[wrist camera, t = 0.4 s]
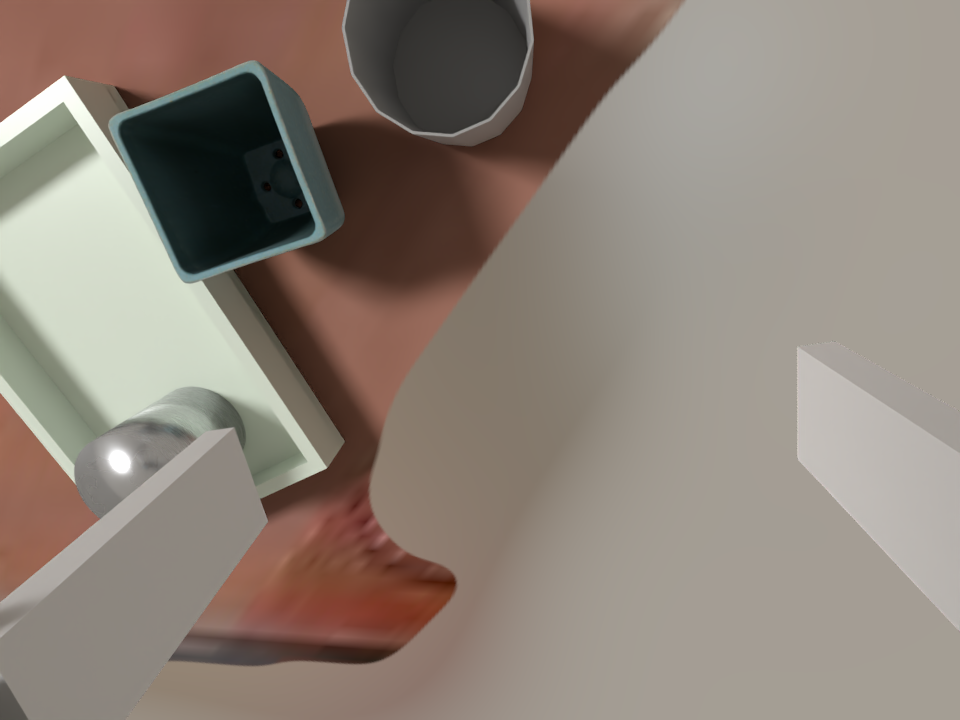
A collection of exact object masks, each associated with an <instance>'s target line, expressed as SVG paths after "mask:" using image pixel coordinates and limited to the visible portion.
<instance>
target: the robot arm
mask: <svg viewBox="0 0 960 720" xmlns="http://www.w3.org/2000/svg"><path fill="white" fill-rule="evenodd" d="M797 459H798V460H799V461H800V462H801V463H802V464H803V465H804V466H805V468H806V469H807V470H808V471H809V472H810V473H811V474H812V475H813V476H814V477H815V478H816V479H817V480H818V481H819V482H820V483H821V485H823V487H824V488H825V489H826V490H827V491H828V492H829V493H830V494H831V495H832V496H833V497H834V498H835V499H836V500H837V502H838V503H839V504H840V505H841V506H842V507H843V508H844V509H845V510H846V511H847V512H848V513H849V514H850V515H851V517H852V518H853V519H854V520H855V521H856V522H857V523H858V524H859V525H860V526H861V527H862V528H863V529H864V530H865V531H866V532H867V534H868V535H869V536H870V537H871V538H872V539H873V540H874V541H875V542H876V543H877V544H878V545H879V546H880V547H881V549H883V551H884V552H885V553H886V554H887V555H888V556H889V557H890V558H891V559H892V560H893V561H894V562H895V563H896V564H897V565H898V567H899V568H900V569H901V570H902V571H903V572H904V573H905V574H906V575H907V576H908V577H909V578H910V579H911V580H912V582H913V583H914V584H915V585H916V586H917V587H918V588H919V589H920V590H921V591H922V592H923V593H924V594H925V595H926V596H927V598H928V599H929V600H930V601H931V602H932V603H933V604H934V605H935V606H936V607H937V608H938V609H939V610H940V611H941V612H942V614H943V615H944V616H946V618H947V619H948V620H949V621H950V622H951V623H952V624H953V625H954V626H955V627H956V628H957V629H958V631H960V411H959V410H957V409H955V408H954V407H952V406H950V405H948V404H946V403H945V402H943V401H941V400H939V399H937V398H936V397H934V396H932V395H930V394H929V393H926V392H925V391H923V390H921V389H920V388H917V387H916V386H914V385H912V384H911V383H909V382H907V381H905V380H904V379H902V378H900V377H898V376H896V375H894V374H893V373H891V372H889V371H887V370H886V369H884V368H882V367H880V366H878V365H877V364H875V363H873V362H871V361H869V360H868V359H866V358H864V357H862V356H861V355H859V354H857V353H855V352H853V351H852V350H850V349H848V348H846V347H844V346H842V345H841V344H839V343H837V342H836V341H833V342H826V343H819V344H812V345H805V346H799V347H797ZM267 522H268V520H267V517H266V514H265V511H264V509H263V506H262V503H261V500H260V497H259V495H258V492H257V489H256V486H255V484H254V481H253V478H252V475H251V472H250V470H249V467H248V464H247V461H246V458H245V456H244V453H243V450H242V447H241V445H240V442H239V439H238V436H237V433H236V431H235V428H234V427H233V428H226V429H219V430H212V431H206V432H204V433H203V434H202V435H201V436H200V437H198V438H197V439H196V440H195V441H194V442H192V443H191V444H190V445H189V446H188V447H186V448H185V449H184V450H183V451H182V452H180V453H179V454H178V455H177V456H176V457H174V458H173V459H172V460H171V461H170V462H168V463H167V464H166V465H165V466H164V467H162V468H161V469H160V470H159V471H158V472H156V473H155V474H154V475H153V476H152V477H150V478H149V479H148V480H147V481H146V482H144V483H143V484H142V485H141V486H140V487H138V488H137V489H136V490H135V491H134V492H132V493H131V494H130V495H129V496H127V497H126V498H125V499H124V500H123V501H121V502H120V503H119V504H118V505H117V506H115V507H114V508H113V509H112V510H111V511H109V512H108V513H107V514H106V515H105V516H103V517H102V518H101V519H100V520H99V521H97V522H96V523H95V524H94V525H93V526H91V527H90V528H89V529H88V530H87V531H85V532H84V533H83V534H82V535H81V536H79V537H78V538H77V539H76V540H75V541H73V542H72V543H71V544H70V545H69V546H67V547H66V548H65V549H64V550H63V551H61V552H60V553H59V554H58V555H57V556H55V557H54V558H53V559H52V560H51V561H49V562H48V563H47V564H46V565H45V566H43V567H42V568H41V569H40V570H39V571H37V572H36V573H35V574H34V575H33V576H31V577H30V578H29V579H28V580H27V581H25V582H24V583H23V584H22V585H21V586H19V587H18V588H17V589H16V590H15V591H13V592H12V593H11V594H10V595H9V596H7V597H6V598H5V599H4V600H3V601H1V602H0V720H126V718H127V717H128V715H129V714H130V713H131V711H132V710H133V708H134V707H135V706H136V704H137V703H138V702H139V700H140V699H141V697H142V696H143V695H144V693H145V692H146V690H147V689H148V688H149V686H150V685H151V684H152V682H153V681H154V679H155V678H156V677H157V675H158V674H159V672H160V671H161V669H162V668H163V667H164V665H165V664H166V663H167V661H168V660H169V659H170V657H171V656H172V654H173V653H174V652H175V650H176V649H177V647H178V646H179V645H180V643H181V642H182V640H183V639H184V638H185V636H186V635H187V634H188V632H189V631H190V629H191V628H192V627H193V625H194V624H195V622H196V621H197V620H198V618H199V617H200V615H201V614H202V613H203V611H204V610H205V609H206V607H207V606H208V604H209V603H210V602H211V600H212V599H213V597H214V596H215V595H216V593H217V592H218V590H219V589H220V588H221V586H222V585H223V584H224V582H225V581H226V579H227V578H228V577H229V575H230V574H231V572H232V571H233V570H234V568H235V567H236V565H237V564H238V563H239V561H240V560H241V558H242V557H243V556H244V554H245V553H246V552H247V550H248V549H249V547H250V546H251V545H252V543H253V542H254V540H255V539H256V538H257V536H258V535H259V533H260V532H261V531H262V529H263V528H264V527H265V525H266V524H267Z"/></svg>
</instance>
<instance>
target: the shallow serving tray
mask: <svg viewBox="0 0 960 720" xmlns="http://www.w3.org/2000/svg"><path fill="white" fill-rule="evenodd" d="M126 110H129V108H128V107H127V105H126V104H125V102H124V101H123V99H122V98H121V96H120V94H119V93H118V91H117V90H116V88H115V87H114V86H112V85H107V84H102V83H98V82H93V81H88V80H83V79H79V78H74V77H69V76H63V77H62V78H60V79H59V80H58V81H56V82H55V83H54V84H52V85H51V86H50V87H48V88H47V89H46V90H44V91H43V92H42V93H40V94H39V95H37V96H36V97H35V98H33V99H32V100H31V101H29V102H28V103H27V104H25V105H24V106H23V107H21V108H20V109H19V110H17V111H16V112H14V113H13V114H12V115H10V116H9V117H8V118H6V119H5V120H4V121H2V122H1V123H0V393H1V394H2V395H3V396H4V398H5V399H6V400H7V401H8V403H9V404H10V405H11V406H12V407H13V409H14V410H15V411H16V412H17V414H18V415H19V416H20V417H21V418H22V420H23V421H24V422H25V423H26V424H27V426H28V427H29V428H30V429H31V431H32V432H33V433H34V434H35V435H36V437H37V438H38V439H39V440H40V442H41V443H42V444H43V445H44V446H45V448H46V449H47V450H48V451H49V452H50V454H51V455H52V456H53V457H54V459H55V460H56V461H57V462H58V463H59V465H60V466H61V467H62V468H63V470H64V471H65V472H66V473H67V474H68V476H69V477H70V478H71V479H72V480H73V482H74V483H75V477H74V467H75V462H76V459H77V457H78V455H79V453H80V451H81V450H82V449H83V448H84V447H85V446H86V445H87V444H88V443H90V442H91V441H93V440H95V439H96V438H98V437H99V436H101V435H103V434H104V433H106V432H107V431H109V430H111V429H112V428H114V427H115V426H117V425H119V424H120V423H122V422H124V421H125V420H127V419H128V418H130V417H132V416H133V415H135V414H136V413H138V412H140V411H141V410H143V409H144V408H146V407H148V406H149V405H151V404H153V403H154V402H156V401H157V400H159V399H161V398H162V397H164V396H165V395H167V394H169V393H170V392H172V391H174V390H176V389H179V388H182V387H201V388H205V389H208V390H211V391H213V392H215V393H217V394H219V395H221V396H222V397H224V398H225V399H226V400H227V401H229V402H230V403H231V404H232V405H233V407H234V408H235V409H236V410H237V412H238V413H239V415H240V417H241V419H242V421H243V424H244V427H245V432H246V441H245V446H244V449H243V453H244V456H245V458H246V461H247V464H248V467H249V470H250V472H251V475H252V478H253V481H254V484H255V486H256V489H257V492H258V495H259V497H260V499H261V498H263V497H266V496H268V495H270V494H272V493H274V492H276V491H279V490H281V489H283V488H285V487H287V486H289V485H292V484H294V483H296V482H298V481H300V480H303V479H305V478H307V477H309V476H311V475H313V474H316V473H318V472H320V471H322V470H324V469H327V468H328V466H329V465H330V463H331V462H332V460H333V459H334V457H335V456H336V454H337V453H338V451H339V450H340V448H341V447H342V445H343V444H344V442H345V441H344V439H343V438H342V436H341V435H340V433H339V432H338V430H337V428H336V427H335V425H334V424H333V422H332V421H331V419H330V418H329V416H328V415H327V413H326V412H325V410H324V408H323V407H322V405H321V404H320V402H319V401H318V399H317V398H316V396H315V395H314V393H313V392H312V390H311V388H310V387H309V385H308V384H307V382H306V381H305V379H304V378H303V376H302V375H301V373H300V372H299V370H298V368H297V367H296V365H295V364H294V362H293V361H292V359H291V358H290V356H289V355H288V353H287V352H286V350H285V348H284V347H283V345H282V344H281V342H280V341H279V339H278V338H277V336H276V335H275V333H274V332H273V330H272V328H271V327H270V325H269V324H268V322H267V321H266V319H265V318H264V316H263V315H262V313H261V312H260V310H259V308H258V307H257V305H256V304H255V302H254V301H253V299H252V298H251V296H250V295H249V293H248V291H247V290H246V288H245V287H244V285H243V284H242V282H241V281H240V279H239V278H238V276H237V275H236V273H235V271H234V270H230V271H227V272H224V273H221V274H219V275H216V276H213V277H210V278H207V279H204V280H202V281H199V282H196V283H191V284H189V283H184V282H183V281H182V280H181V279H180V278H179V276H178V275H177V273H176V271H175V269H174V267H173V265H172V263H171V261H170V259H169V257H168V254H167V252H166V250H165V247H164V245H163V243H162V241H161V239H160V237H159V235H158V233H157V230H156V228H155V226H154V224H153V221H152V220H151V218H150V216H149V214H148V211H147V209H146V207H145V204H144V203H143V200H142V198H141V196H140V194H139V192H138V190H137V188H136V186H135V183H134V181H133V179H132V177H131V175H130V173H129V170H128V168H127V167H126V165H125V162H124V160H123V158H122V156H121V154H120V153H119V150H118V148H117V146H116V144H115V142H114V140H113V137H112V135H111V133H110V130H109V128H108V124H109V120H110V119H111V118H112V117H113V116H115V115H116V114H118V113H121V112H123V111H126ZM75 484H76V483H75Z"/></svg>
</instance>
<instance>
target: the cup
mask: <svg viewBox="0 0 960 720" xmlns="http://www.w3.org/2000/svg"><path fill="white" fill-rule="evenodd" d="M342 31H343V36H344V41H345V46H346V51H347V56H348V61H349V66H350V71H351V75H352V76H353V78H354V79H355V81H356V82H357V84H358V85H359V87H360V88H361V90H362V91H363V93H364V94H365V96H366V97H367V99H368V100H369V102H370V103H371V105H372V106H373V108H374V109H375V111H376V112H377V113H379V114H381V115H382V116H384V117H385V118H387V119H389V120H390V121H392V122H394V123H395V124H397V125H399V126H400V127H402V128H403V129H405V130H407V131H408V132H410V133H412V134H414V135H417V136H420V137H423V138H426V139H429V140H432V141H435V142H438V143H441V144H447V145H460V146H472V147H473V146H475V145H477V144H480V143H482V142H484V141H487V140H489V139H492V138H494V137H496V136H499V135H501V134H502V132H503V131H504V130H505V129H506V128H507V127H508V126H509V124H510V123H511V122H512V121H513V120H514V119H515V117H516V116H517V115H518V114H519V113H520V112H521V111H522V108H523V104H524V101H525V98H526V95H527V91H528V88H529V85H530V81H531V78H532V63H533V47H534V37H533V27H532V17H531V8H530V0H347V3H346V8H345V13H344V18H343V24H342Z"/></svg>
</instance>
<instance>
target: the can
mask: <svg viewBox="0 0 960 720" xmlns="http://www.w3.org/2000/svg"><path fill="white" fill-rule="evenodd" d="M233 427H234V428H235V431H236V433H237V436H238V439H239V442H240V445H241V447H242V450H243V449H244V446H245V441H246V432H245V427H244V424H243V421H242V419H241V417H240V415H239V413H238V412H237V410H236V409H235V408H234V407H233V405H232V404H231V403H230V402H229V401H227V400H226V399H225V398H224V397H222V396H221V395H219V394H217V393H215V392H213V391H211V390H208V389H205V388H201V387H182V388H179V389H176V390H174V391H172V392H170V393H169V394H167V395H165V396H164V397H162V398H161V399H159V400H157V401H156V402H154V403H153V404H151V405H149V406H148V407H146V408H144V409H143V410H141V411H140V412H138V413H136V414H135V415H133V416H132V417H130V418H128V419H127V420H125V421H124V422H122V423H120V424H119V425H117V426H115V427H114V428H112V429H111V430H109V431H107V432H106V433H104V434H103V435H101V436H99V437H98V438H96V439H95V440H93V441H91V442H90V443H88V444H87V445H86V446H85V447H84V448H83V449H82V450H81V451H80V453H79V455H78V457H77V459H76V462H75V467H74V477H75V483H76V486H77V489H78V491H79V494H80V496H81V497H82V499H83V501H84V502H85V504H86V505H87V506H88V507H89V509H90V510H91V511H92V512H93V513H94V514H95V515H96V516H98V517H99V518H100V519H101V518H102V517H103V516H105V515H106V514H107V513H108V512H109V511H111V510H112V509H113V508H114V507H115V506H117V505H118V504H119V503H120V502H121V501H123V500H124V499H125V498H126V497H127V496H129V495H130V494H131V493H132V492H134V491H135V490H136V489H137V488H138V487H140V486H141V485H142V484H143V483H144V482H146V481H147V480H148V479H149V478H150V477H152V476H153V475H154V474H155V473H156V472H158V471H159V470H160V469H161V468H162V467H164V466H165V465H166V464H167V463H168V462H170V461H171V460H172V459H173V458H174V457H176V456H177V455H178V454H179V453H180V452H182V451H183V450H184V449H185V448H186V447H188V446H189V445H190V444H191V443H192V442H194V441H195V440H196V439H197V438H198V437H200V436H201V435H202V434H203V433H204V432H206V431H212V430H219V429H226V428H233Z"/></svg>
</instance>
